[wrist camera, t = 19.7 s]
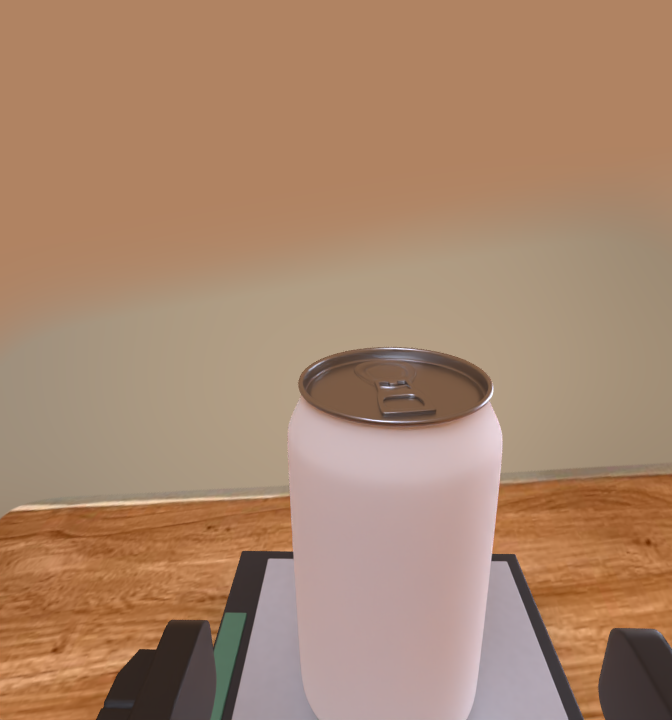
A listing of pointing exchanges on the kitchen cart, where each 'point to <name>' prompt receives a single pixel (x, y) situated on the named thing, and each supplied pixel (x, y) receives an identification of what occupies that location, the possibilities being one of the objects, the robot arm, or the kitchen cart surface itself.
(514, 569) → the scale
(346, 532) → the can
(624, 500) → the kitchen cart surface
